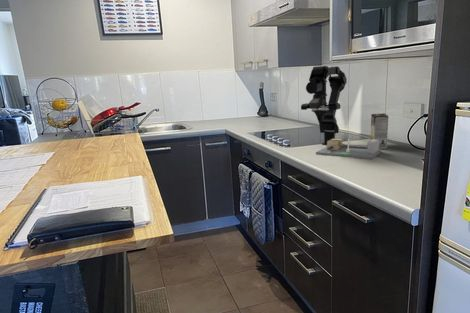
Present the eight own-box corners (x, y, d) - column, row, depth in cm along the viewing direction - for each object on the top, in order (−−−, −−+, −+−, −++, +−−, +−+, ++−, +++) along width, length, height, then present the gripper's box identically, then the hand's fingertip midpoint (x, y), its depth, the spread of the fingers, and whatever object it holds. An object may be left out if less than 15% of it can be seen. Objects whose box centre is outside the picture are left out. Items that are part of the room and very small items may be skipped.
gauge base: (328, 147, 171) (328, 136, 169) (381, 151, 155) (381, 139, 154) (315, 154, 159) (315, 141, 158) (372, 159, 144) (372, 145, 142)
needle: (347, 151, 152) (347, 137, 151) (350, 151, 152) (350, 137, 150) (346, 151, 151) (346, 138, 150) (348, 152, 150) (349, 138, 149)
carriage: (332, 146, 168) (332, 138, 167) (342, 147, 165) (342, 139, 164) (323, 151, 159) (323, 143, 158) (333, 152, 156) (333, 144, 155)
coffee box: (370, 145, 171) (370, 113, 167) (383, 144, 169) (384, 113, 166) (373, 148, 162) (374, 116, 158) (387, 148, 161) (389, 115, 157)
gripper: (295, 94, 163) (296, 125, 167) (332, 93, 152) (332, 126, 156) (305, 92, 172) (305, 122, 175) (341, 91, 161) (340, 123, 164)
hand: (320, 123), depth 168 cm, fingers closed
